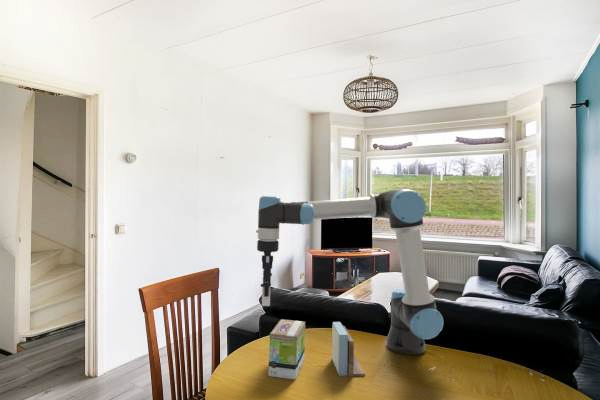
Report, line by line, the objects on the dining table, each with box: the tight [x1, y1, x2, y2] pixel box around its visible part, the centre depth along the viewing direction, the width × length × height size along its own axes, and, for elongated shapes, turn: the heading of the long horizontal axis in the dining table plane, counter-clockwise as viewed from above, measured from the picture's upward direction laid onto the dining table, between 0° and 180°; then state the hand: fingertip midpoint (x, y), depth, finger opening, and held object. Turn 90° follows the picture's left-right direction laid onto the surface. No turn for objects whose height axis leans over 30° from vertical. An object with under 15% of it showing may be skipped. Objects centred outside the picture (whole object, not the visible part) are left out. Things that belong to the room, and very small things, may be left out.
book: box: [331, 321, 348, 377], centre depth 123 cm, size 3×12×14 cm, turn 6°
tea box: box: [268, 319, 306, 380], centre depth 122 cm, size 15×10×15 cm
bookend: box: [342, 325, 366, 378], centre depth 123 cm, size 6×14×12 cm, turn 6°
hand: (265, 299), depth 121 cm, fingers open, 13 cm apart
